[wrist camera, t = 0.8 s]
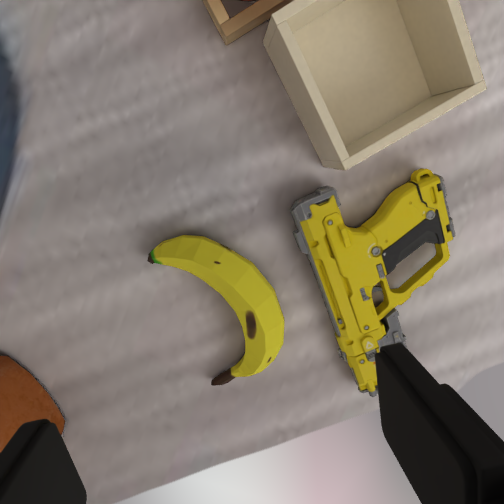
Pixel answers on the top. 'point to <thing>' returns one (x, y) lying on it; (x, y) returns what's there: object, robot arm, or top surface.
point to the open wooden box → (371, 70)
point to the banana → (232, 296)
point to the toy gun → (372, 263)
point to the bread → (22, 401)
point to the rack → (241, 17)
